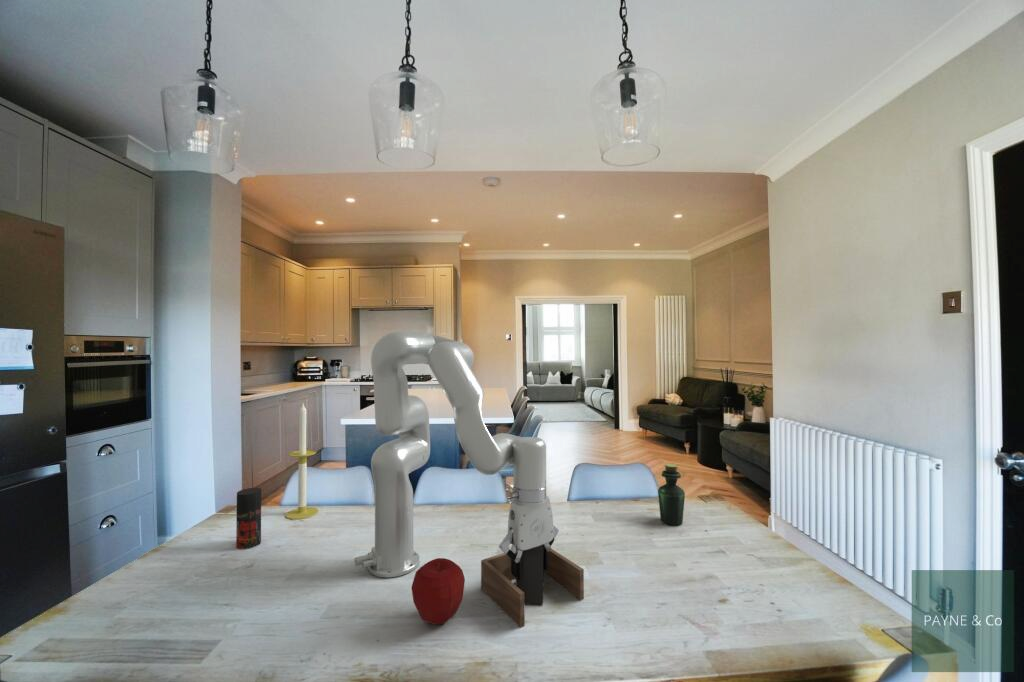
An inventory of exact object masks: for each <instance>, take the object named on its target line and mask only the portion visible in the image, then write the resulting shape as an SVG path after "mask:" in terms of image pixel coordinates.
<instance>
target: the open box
mask: <svg viewBox="0 0 1024 682" xmlns="http://www.w3.org/2000/svg"><path fill="white" fill-rule="evenodd" d="M516 552H517V550H516ZM516 552H515V554H516ZM548 560H549V562H548V570H544V576H545V575H546V576H547V577H548V578H549V579H550V580H552V581H553V582H555V583H556V584H558V585H559V586H560V587H562V588H563V589H565V590H566V591H567V592H568V593H569V594H571V595H572V596H573V597H575V598H577V600H579V601H582V600H584V599H585V597H584V596H585V593H584V592H585V591H584V590H585V585H584V581H585V578H584V577H585V576H584V575H585V574H584V572H585V569H584V568H582V567H581V566H579V565H577V563H574V562H573V561H571V560H569V558H566V557H565V556H563V555H562V554H560V553H559V552H557V551H556V550H555V549H553V548H551V550H550V551H549V552H548ZM480 564H481V565H480V570H481V571H480V572H481V573H480V587H481V588H480V589H481V590H482V591H483V592H484V593H485V594H486V595H487V596H488V597H489V598H490V599H491V600H492V601H493V602H494V603H495V604H496V605H497V606H498V607H499V608H500V609H501V610H502V611H503V612H504V613H505V614H506V615H507V616H508V617H509V618H510V619H511V620H512V621H513V622H514V623H515V624H516V625H517V626H518V627H519V628H523V627H525V624H526V623H525V621H526V620H525V612H526V611H525V610H526V609H525V604H524V592H523V591H522V590H520V589H519V588H518V587H517V586H516V583H513V580H516V577H514V576H513V575H512V573H511V558H510V557H509V556H508V555H506V554H505V553H504V552H502V553H499V554H496V555H493V556H490V557H486V558H484V559H481V560H480Z"/></svg>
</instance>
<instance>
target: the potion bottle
mask: <svg viewBox="0 0 1024 682" xmlns="http://www.w3.org/2000/svg"><path fill="white" fill-rule="evenodd" d="M664 468H665V469H664V470H663V471H662V473H661V476H662V477H663V478H664V479H665V484H663V485H661V486H659V488H658V489H657V495H658V505H659V515H660V516H659V517H660V521H661V523H663V524H665V525H668V526H672V527H678V526H681V525H683V523H684V521H683V520H684V509H685V499H686V498H685V495H686V492H685V491H684V488H683V489H682V487H680V486H679V485H677V482H678V480H679V479H682V478H681V477H682V475H681V473H680V472H679V471H677V469H678V465H677V464H676V463H665V464H664Z"/></svg>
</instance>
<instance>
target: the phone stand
mask: <svg viewBox="0 0 1024 682" xmlns="http://www.w3.org/2000/svg"><path fill="white" fill-rule="evenodd" d="M516 550H517V548H516ZM520 561H521V562H522V580H518V579H517V575H516V579H515V585H516V586H517V587H518V588H519V589H520V590H522V591H523V592H524V605H532V606H533V605H534V606H536V605H538V606H543V605H544V589H545V588H544V587H545V574H544V569H543V545H541V546H538V547H535V548H532V549H529V550H525V551H523V552H522V555H521V558H520Z"/></svg>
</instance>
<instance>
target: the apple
mask: <svg viewBox="0 0 1024 682" xmlns="http://www.w3.org/2000/svg"><path fill="white" fill-rule="evenodd" d="M465 582H466V579H465V576H464V572H463V569H462V567H461V566H459V565H458V564H457V563H455V562H454V561H453V560H451V559H449V558H443V557H442V558H441V557H437V558H433V559H432V560H430V561H427V562H426V563H424V564H423V565H422V566H420V567H419V569H417V570H416V571H415V574H414V577H413V580H412V584H411V594H412V595H411V596H412V600H413V603H414V606H415V608H416V610H417V612H418V614H419V616H420V619H421V620H422V621H424V622H425V623H429V624H433V625H437V626H438V625H443V624H445V623H447V622H449V620H450V619H452V618H453V617H454V615H456V613H457V611H458V610H459V607H460V605H461V604H462V601H463V597H464V592H465Z"/></svg>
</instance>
